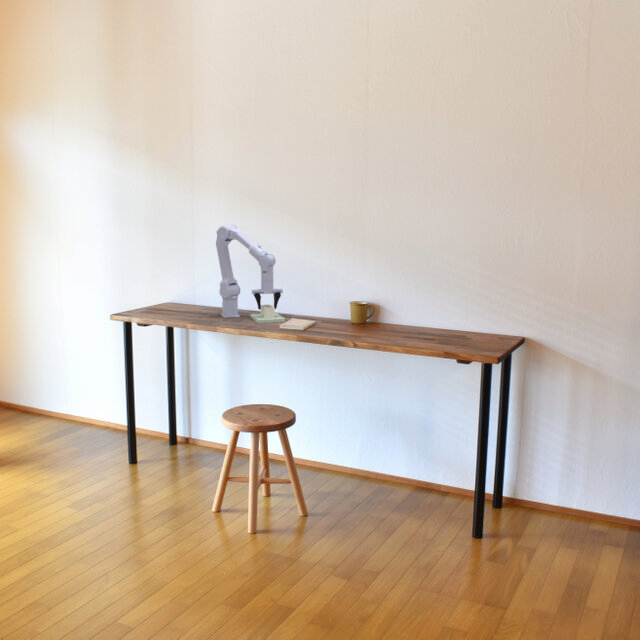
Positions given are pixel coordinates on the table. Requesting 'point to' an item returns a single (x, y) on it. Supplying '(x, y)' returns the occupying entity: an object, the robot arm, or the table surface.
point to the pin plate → (260, 319)
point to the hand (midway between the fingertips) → (267, 308)
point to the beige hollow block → (267, 311)
